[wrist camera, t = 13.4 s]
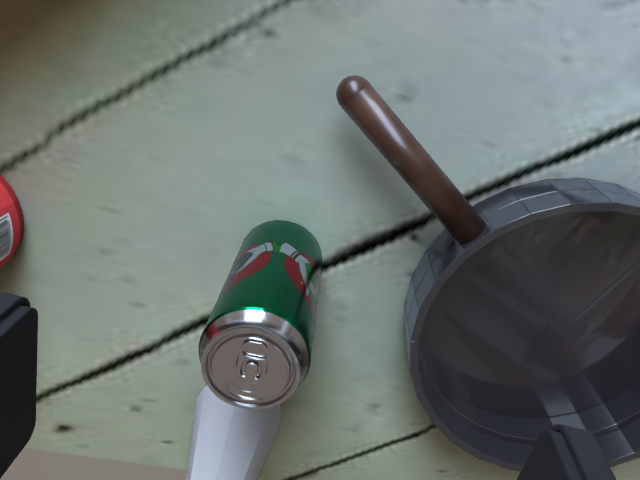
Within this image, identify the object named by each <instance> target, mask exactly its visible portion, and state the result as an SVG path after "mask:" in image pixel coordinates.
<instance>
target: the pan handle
mask: <svg viewBox="0 0 640 480" xmlns="http://www.w3.org/2000/svg"><path fill="white" fill-rule="evenodd" d="M336 96H337V101H338V103H339V105H340V106H341V107H342V109H343V110H344V111H345V112H346V113H347V114H348V115H349V117H350V118H351V119H352V120H353V121H354V122H355V124H356V125H357V126H358V127H359V128H360V129H361V131H362V132H363V133H364V134H365V135H366V136H367V138H368V139H369V140H370V141H371V142H372V143H373V145H374V146H375V147H376V148H377V149H378V150H379V151H380V153H381V154H382V155H383V156H384V157H385V158H386V160H387V161H388V162H389V163H390V164H391V165H392V167H393V168H394V169H395V170H396V171H397V172H398V174H399V175H400V176H401V177H402V178H403V179H404V181H405V182H406V183H407V184H408V185H409V186H410V187H411V189H412V190H413V191H414V192H415V193H416V194H417V196H418V197H419V198H420V199H421V200H422V201H423V203H424V204H425V205H426V206H427V207H428V208H429V210H430V211H431V212H432V213H433V214H434V215H435V216H436V218H437V219H438V220H439V221H440V222H441V223H442V225H443V226H444V227H445V228H446V229H447V230H448V232H449V233H450V234H451V235H452V236H453V237H454V239H455V240H456V241H457V242H458V243H459V244H461V245H463V244H467V243H470V242H471V241H473V240H475V239H476V238H477V237H478V236H479V235H480V234H481V233H482V232H483V231H484V229H485V227H486V223H485V221H484V220H483V219H482V218H481V217H480V215H479V214H478V213H477V212H476V211H475V209H474V208H473V207H472V206H471V205H470V203H469V202H468V201H467V200H466V199H465V197H464V196H463V195H462V194H461V193H460V191H459V190H458V189H457V188H456V187H455V185H454V184H453V183H452V182H451V181H450V179H449V178H448V177H447V176H446V175H445V173H444V172H443V171H442V170H441V169H440V167H439V166H438V165H437V164H436V163H435V161H434V160H433V159H432V158H431V157H430V155H429V154H428V153H427V152H426V151H425V149H424V148H423V147H422V146H421V145H420V143H419V142H418V141H417V140H416V139H415V137H414V136H413V135H412V134H411V133H410V131H409V130H408V129H407V128H406V127H405V125H404V124H403V123H402V122H401V120H400V119H399V118H398V117H397V116H396V114H395V113H394V112H393V111H392V110H391V108H390V107H389V106H388V105H387V104H386V102H385V101H384V100H383V99H382V98H381V96H380V95H379V94H378V93H377V92H376V90H375V89H374V88H373V87H372V86H371V84H370V83H369V82H368V81H367V80H366V79H364V78H363V77H361V76H356V75H354V76H349V77H347V78H345V79H343V80H342V81H341V82H340V84H339V86H338V88H337V92H336ZM486 247H487V245H486V246H485V247H483V248H482V249H481V250H483V249H484V248H486ZM481 250H479V251H481Z"/></svg>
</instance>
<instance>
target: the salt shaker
mask: <svg viewBox="0 0 640 480" xmlns="http://www.w3.org/2000/svg"><path fill="white" fill-rule="evenodd" d="M280 420H281V407H280V405H277V406H274V407H272V408H268V409H262V410H247V409H242V408H238V407H235V406H232V405H230V404H228V403H226V402H224V401H222V400H221V399H220V398H218V397H217V396H216V395H215V394H214V393H213V392H212V391H211V390H210V388H209V387H208V386H207V385H206V386H205V388H204V389H203V390H202V392H201V393H200V394H199V396H198V397H197V399H196V402H195V411H194V420H193V428H192V435H191V442H190V449H189V457H188V464H187V471H186V478H185V480H257V478H258V476H259V474H260V472H261V469H262V467H263V465H264V463H265V460H266V458H267V456H268V453H269V451H270V449H271V447H272V444H273V442H274V440H275V438H276V435H277V433H278V431H279V427H280Z"/></svg>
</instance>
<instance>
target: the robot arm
mask: <svg viewBox="0 0 640 480" xmlns="http://www.w3.org/2000/svg"><path fill="white" fill-rule="evenodd" d="M37 332H38V313H37V310H36V309H35V308H31V307H30V303H29V300H28V299H27V298H25V297H21V296H16V295H12V294H8V293H4V292H0V478H1V477H2V476H3V474H4V473H5V472H6V470H7V469H8V468H9V466H10V465H11V464H12V462H13V461H14V459H15V458H16V457H17V456H18V454H19V453H20V452H21V450H22V449H23V448H24V447H25V445H26V444H27V442H28V441H29V439H30V437H31V435H32V433H33V430H34V427H35V421H36V379H37ZM517 480H616V478H615V476H614V474H613V472H612V470H611V468H610V466H609V465H608V463H607V461H606V459H605V457H604V455H603V453H602V451H601V449H600V447H599V445H598V443H597V441H596V439H595V437H594V436H593V434H592V433H591V432H589V431H587V430H583V429H579V428H575V427H570V426H566V425H562V424H555V425H554V426H553V427H552V428H551V429H550V430H548V429H545V430H543V431H542V432H541V434H540V435H539V437H538V439H537V441H536V443H535V445H534V447H533V449H532V451H531V453H530V455H529V457H528V459H527V461H526V463H525V465H524V466H523V468H522V470H521V472H520V474H519V476H518V478H517Z"/></svg>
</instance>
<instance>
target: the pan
mask: <svg viewBox="0 0 640 480" xmlns="http://www.w3.org/2000/svg"><path fill="white" fill-rule="evenodd" d="M473 208H474V209H475V211H476V212H477V213H478V214H479V215H480V217H481V218H482V219H483V220H484V221H485V223H486V227H485V229H484V231H483V232H482V233H481V234H480V235H479V236H478V237H477V238H476V239H475V240H473V241H471V242H470V243H467V244H463V245H461V244H459V243H458V242H457V241H456V240H455V239H454V237H453V236H452V235H451V234H450V233H449V232H448V230H447V229H446V228H445V230H444V231H443V232H442V233H441V234H440V235H439V236H438V237H437V239H436V240H435V241H434V242H433V243H432V244H431V245H430V247H429V248H428V249H427V250H426V251H425V253H424V255H423V257H422V259H421V261H420V262H419V264H418V266H417V268H416V270H415V272H414V273H413V275H412V278H411V281H410V285H409V289H408V293H407V297H406V300H405V306H404V334H405V341H406V347H407V354H408V360H409V367H410V372H411V376H412V380H413V383H414V387H415V391H416V394H417V397H418V400H419V401H420V403H421V405H422V406H423V408H424V410H425V412H426V413H427V415H428V417H429V418H430V420H431V422H432V423H433V424H434V425H435V426H436V427H437V428H438V429H439V430H440V431H441V432H442V433H443V434H444V435H445V436H446V437H447V438H448V439H449V440H450V441H451V442H452V443H454V444H455V445H457V446H458V447H460V448H462V449H463V450H465V451H466V452H468V453H470V454H471V455H473V456H474V457H476V458H478V459H481V460H483V461H486V462H489V463H491V464H494V465H497V466H500V467H502V468H505V469H509V470H515V471H521V470H522V468H523V466H524V465H525V463H526V461H527V459H528V457H529V455H530V453H531V451H532V449H533V447H534V445H535V443H536V441H537V439H538V437H539V435H540V434H541V432H542V431H543V430H545V429H548V430H550V429H551V428H552V427H553V426H554V425H555V424H562V425H566V426H570V427H575V428H579V429H583V430H587V431H589V432H591V433H592V434H593V436H594V437H595V439H596V441H597V443H598V445H599V447H600V449H601V451H602V453H603V455H604V457H605V459H606V461H607V463H608V465H609V466H610V467H612V466H615V465H618V464H621V463H624V462H627V461H630V460H633V459H636V458H637V457H640V194H638V193H636V192H634V191H631V190H629V189H627V188H625V187H622V186H620V185H616V184H612V183H607V182H601V181H596V180H590V179H585V178H584V179H582V178H571V179H547V180H541V181H537V182H533V183H529V184H525V185H521V186H517V187H513V188H510V189H507V190H505V191H503V192H501V193H498V194H496V195H494V196H492V197H490V198H488V199H486V200H483V201H481V202H479V203H477V204H476V205H474V206H473ZM486 245H487V247H486V248H484V249H483V250H481V249H482V248H483V247H485V246H486ZM479 250H481V251H479Z"/></svg>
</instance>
